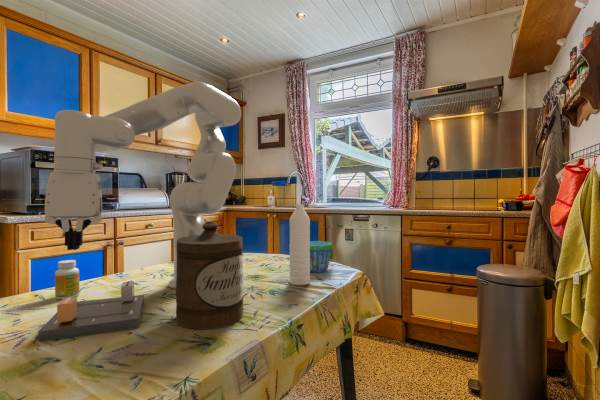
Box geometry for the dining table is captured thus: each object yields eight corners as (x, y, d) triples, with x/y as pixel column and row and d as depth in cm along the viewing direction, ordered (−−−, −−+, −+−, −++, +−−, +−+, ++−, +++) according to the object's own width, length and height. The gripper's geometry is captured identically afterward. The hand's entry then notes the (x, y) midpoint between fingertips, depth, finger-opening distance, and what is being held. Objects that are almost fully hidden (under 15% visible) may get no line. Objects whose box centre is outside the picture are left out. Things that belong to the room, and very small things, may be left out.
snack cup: (309, 277, 108) (309, 247, 108) (291, 271, 116) (291, 243, 116) (342, 270, 118) (342, 242, 117) (323, 265, 126) (323, 239, 126)
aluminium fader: (134, 295, 81) (134, 280, 81) (132, 300, 78) (132, 284, 78) (123, 296, 81) (123, 281, 80) (121, 301, 77) (120, 285, 77)
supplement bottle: (66, 300, 85) (66, 263, 84) (50, 299, 86) (49, 263, 86) (84, 294, 90) (83, 259, 90) (68, 292, 91) (67, 258, 91)
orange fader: (77, 313, 69) (76, 296, 69) (71, 320, 65) (71, 302, 65) (63, 315, 68) (63, 298, 68) (57, 322, 64) (57, 304, 64)
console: (144, 302, 83) (144, 294, 83) (138, 327, 67) (137, 318, 67) (66, 311, 77) (65, 302, 77) (38, 341, 61) (38, 331, 61)
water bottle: (285, 284, 100) (285, 204, 99) (294, 279, 106) (294, 203, 105) (311, 287, 96) (312, 204, 96) (319, 282, 102) (319, 203, 101)
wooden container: (210, 335, 64) (210, 226, 63) (161, 321, 71) (160, 222, 71) (256, 311, 77) (255, 220, 76) (210, 301, 84) (210, 217, 84)
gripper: (115, 170, 78) (114, 245, 78) (40, 167, 73) (39, 248, 73) (110, 167, 71) (108, 250, 71) (26, 163, 66) (25, 253, 66)
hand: (73, 248), depth 72 cm, fingers closed
